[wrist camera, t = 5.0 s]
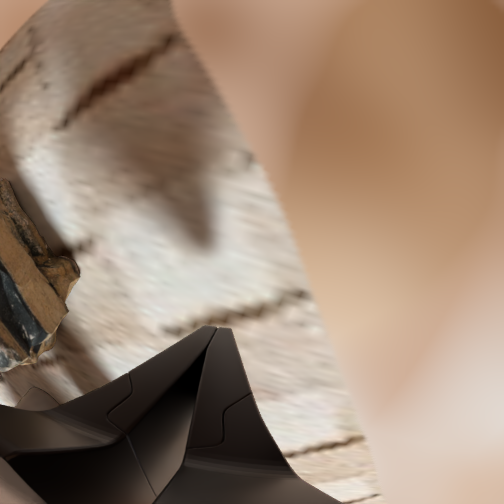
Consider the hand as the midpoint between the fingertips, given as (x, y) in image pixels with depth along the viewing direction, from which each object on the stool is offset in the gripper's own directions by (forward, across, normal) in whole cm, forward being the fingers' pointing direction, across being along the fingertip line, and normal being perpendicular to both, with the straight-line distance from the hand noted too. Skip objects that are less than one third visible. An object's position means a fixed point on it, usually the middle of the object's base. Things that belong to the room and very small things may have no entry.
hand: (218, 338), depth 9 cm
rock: (+3, +12, 0) cm, 12 cm away
